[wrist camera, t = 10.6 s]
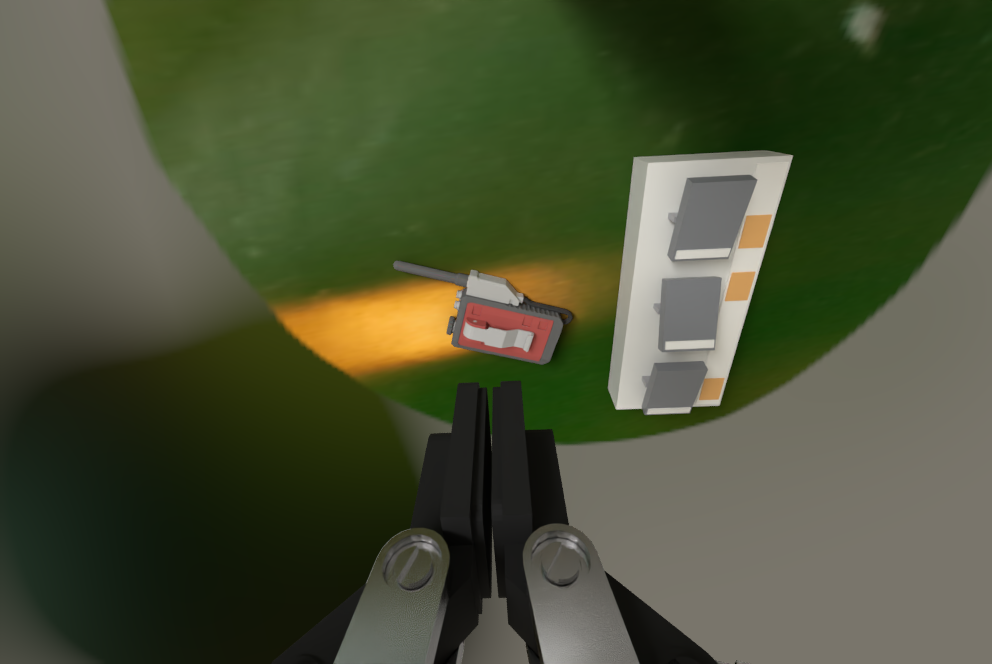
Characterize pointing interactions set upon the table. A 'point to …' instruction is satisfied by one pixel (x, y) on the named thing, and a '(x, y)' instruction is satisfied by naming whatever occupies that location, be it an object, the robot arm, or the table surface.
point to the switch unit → (686, 266)
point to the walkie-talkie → (497, 316)
